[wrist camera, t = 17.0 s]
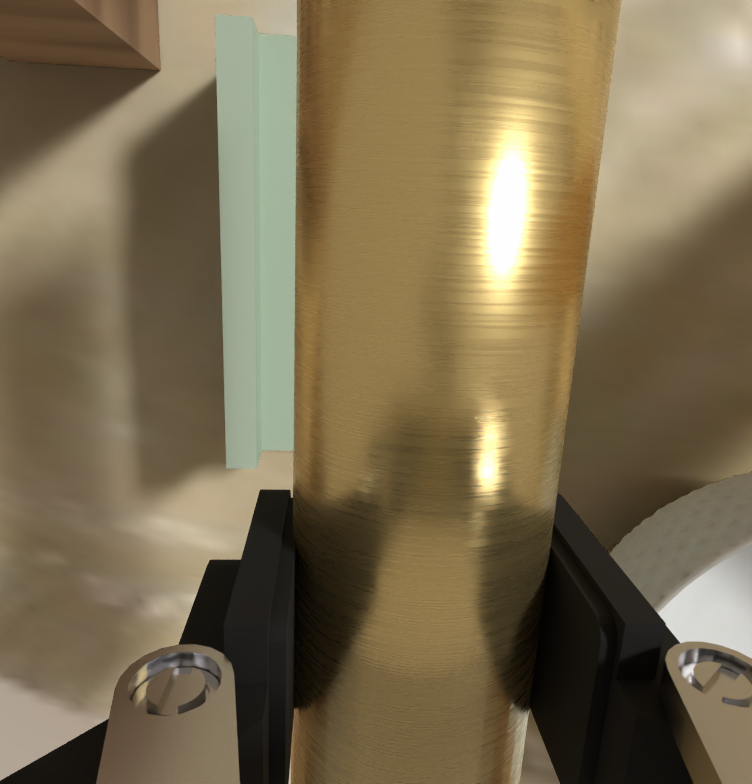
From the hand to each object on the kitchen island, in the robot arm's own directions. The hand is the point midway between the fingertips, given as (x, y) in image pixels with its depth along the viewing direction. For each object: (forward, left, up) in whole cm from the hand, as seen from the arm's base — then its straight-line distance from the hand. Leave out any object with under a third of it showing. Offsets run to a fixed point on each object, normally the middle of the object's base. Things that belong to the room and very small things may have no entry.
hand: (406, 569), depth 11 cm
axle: (-4, 0, +1) cm, 4 cm away
